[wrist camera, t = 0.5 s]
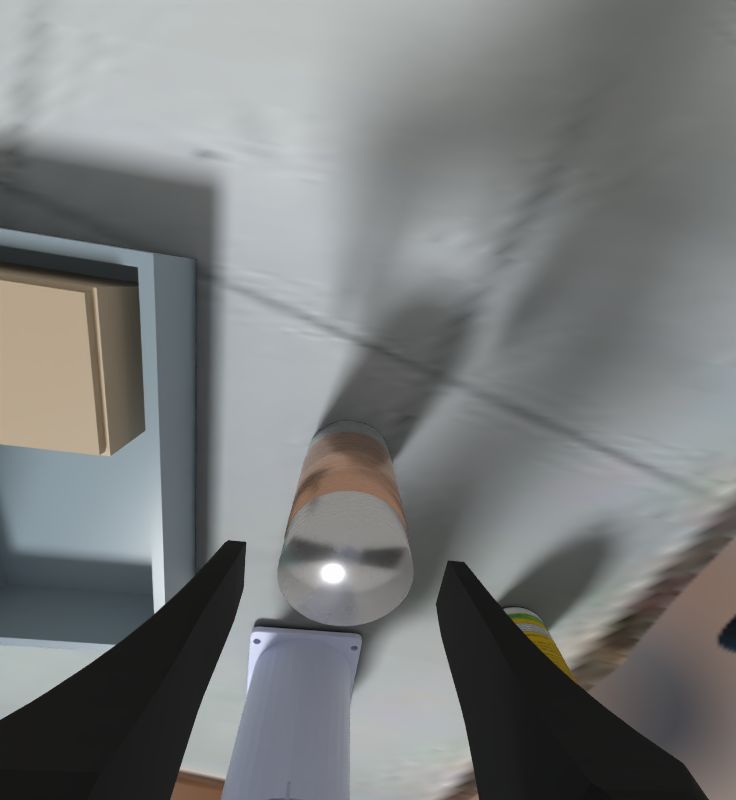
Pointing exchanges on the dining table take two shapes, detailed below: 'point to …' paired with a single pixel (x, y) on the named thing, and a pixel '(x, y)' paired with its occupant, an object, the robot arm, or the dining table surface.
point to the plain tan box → (69, 361)
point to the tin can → (346, 531)
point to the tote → (105, 476)
